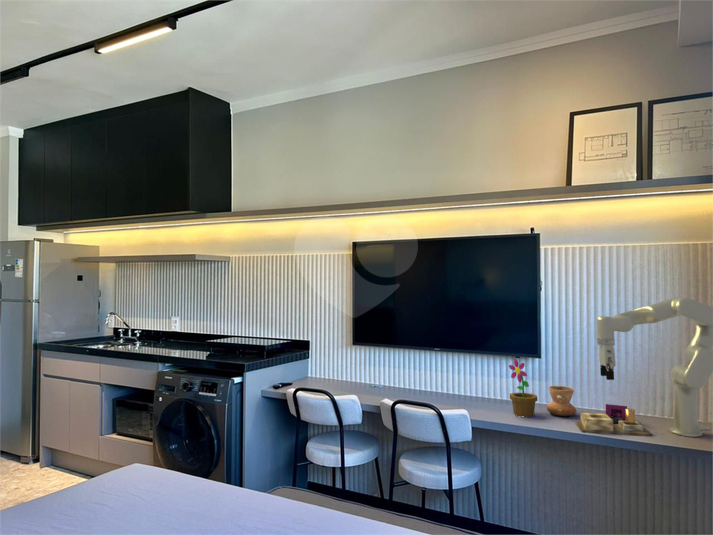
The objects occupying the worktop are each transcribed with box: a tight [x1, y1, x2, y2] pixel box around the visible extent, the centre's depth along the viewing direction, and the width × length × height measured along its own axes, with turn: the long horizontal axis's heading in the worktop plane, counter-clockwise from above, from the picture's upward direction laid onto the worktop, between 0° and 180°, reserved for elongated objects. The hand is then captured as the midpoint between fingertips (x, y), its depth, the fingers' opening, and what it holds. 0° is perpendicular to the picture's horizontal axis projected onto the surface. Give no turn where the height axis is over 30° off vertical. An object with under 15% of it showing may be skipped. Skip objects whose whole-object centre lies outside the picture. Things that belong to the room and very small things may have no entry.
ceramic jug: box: [546, 385, 577, 417], centre depth 263 cm, size 18×14×14 cm
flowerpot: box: [508, 358, 538, 418], centre depth 262 cm, size 14×14×30 cm
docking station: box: [574, 412, 653, 437], centre depth 234 cm, size 30×14×6 cm, turn 78°
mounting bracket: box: [605, 403, 628, 421], centre depth 249 cm, size 10×8×18 cm
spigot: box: [625, 407, 636, 425], centre depth 233 cm, size 4×4×9 cm
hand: (607, 377), depth 236 cm, fingers open, 9 cm apart
